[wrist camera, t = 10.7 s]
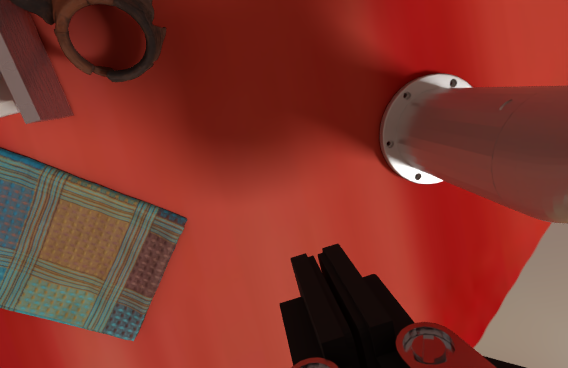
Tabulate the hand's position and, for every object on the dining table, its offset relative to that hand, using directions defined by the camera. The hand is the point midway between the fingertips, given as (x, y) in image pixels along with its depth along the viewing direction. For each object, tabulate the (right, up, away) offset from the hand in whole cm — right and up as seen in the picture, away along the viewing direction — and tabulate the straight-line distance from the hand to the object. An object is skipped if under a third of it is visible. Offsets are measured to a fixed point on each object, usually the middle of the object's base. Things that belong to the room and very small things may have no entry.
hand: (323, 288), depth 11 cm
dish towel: (-26, -3, +26) cm, 37 cm away
